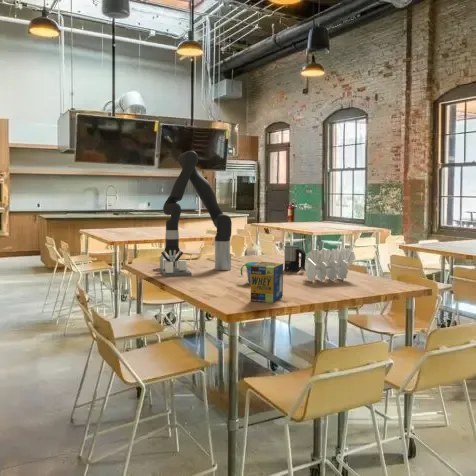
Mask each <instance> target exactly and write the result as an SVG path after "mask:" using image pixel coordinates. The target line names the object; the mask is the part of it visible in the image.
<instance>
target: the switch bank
mask: <svg viewBox="0 0 476 476" xmlns="http://www.w3.org/2000/svg"><path fill="white" fill-rule="evenodd" d="M160 271H161V273H162V275H163V276H164V277H165V278H167V277H171V278H172V277H192V272H191V270H189V269H188V268H187V267H186V270H181V271H179V270H178V268H173V273H166V272H165V269H160Z"/></svg>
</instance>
